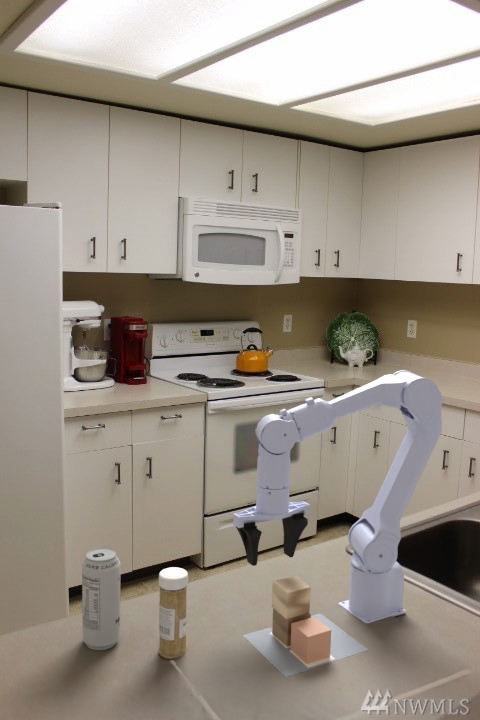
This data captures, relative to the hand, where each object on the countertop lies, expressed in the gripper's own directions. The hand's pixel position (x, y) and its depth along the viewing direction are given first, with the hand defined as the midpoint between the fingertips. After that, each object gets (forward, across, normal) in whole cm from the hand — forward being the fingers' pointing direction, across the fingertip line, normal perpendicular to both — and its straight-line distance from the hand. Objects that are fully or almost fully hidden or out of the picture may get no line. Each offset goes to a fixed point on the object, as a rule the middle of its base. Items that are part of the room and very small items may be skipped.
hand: (270, 559), depth 118 cm
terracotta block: (+10, +1, +14) cm, 17 cm away
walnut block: (+10, +1, +8) cm, 13 cm away
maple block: (+5, +1, +8) cm, 10 cm away
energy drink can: (+11, +29, -5) cm, 31 cm away
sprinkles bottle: (+11, +20, +3) cm, 23 cm away
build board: (+10, 0, +11) cm, 15 cm away
